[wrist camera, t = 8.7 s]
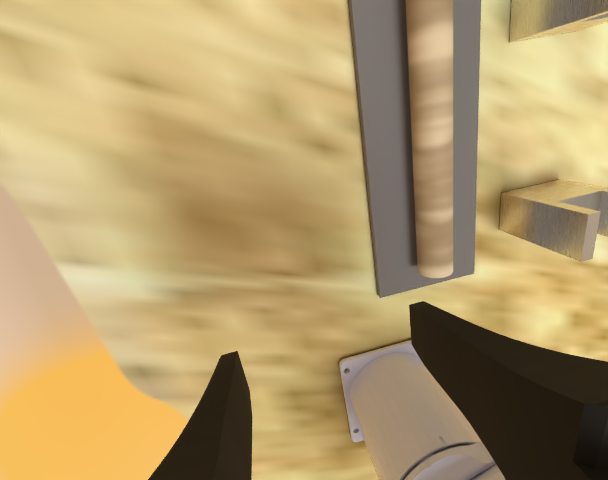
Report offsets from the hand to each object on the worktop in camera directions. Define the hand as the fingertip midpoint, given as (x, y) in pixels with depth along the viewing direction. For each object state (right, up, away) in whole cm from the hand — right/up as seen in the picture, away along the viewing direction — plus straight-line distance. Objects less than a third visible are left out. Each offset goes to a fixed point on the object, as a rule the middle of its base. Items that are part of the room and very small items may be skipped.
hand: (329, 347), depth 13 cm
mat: (+7, +11, +9) cm, 16 cm away
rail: (+7, +10, +7) cm, 14 cm away
